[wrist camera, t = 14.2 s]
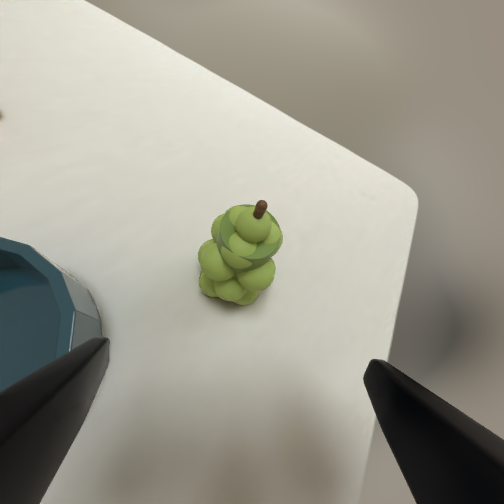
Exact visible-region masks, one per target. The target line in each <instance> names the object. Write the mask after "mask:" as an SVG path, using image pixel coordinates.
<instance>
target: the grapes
mask: <svg viewBox="0 0 504 504" xmlns="http://www.w3.org/2000/svg"><path fill="white" fill-rule="evenodd" d="M266 209H267V203H266V201H264V200H260V201H258V202H257V204H256V206H254V205H238V206H233V207H231V208H230V209H228V210H227V211H226V212H225V214H222V215H220V216H219V217H217V218H216V219H215V221H214V222H213V224H212V229H211V233H212V237H213V239H212V240H208V241H206V242H205V243H204V244H203V245H202V246H201V247H200V249H199V252H198V260H199V263H200V265H201V269H202V271H203V272H202V273H201V275H200V278H199V285H200V288H201V290H202V291H203V292H204V293H205V294H206V295H208V296H210V297H220V298H222V299H223V300H226V301H234V302H235V303H237V304H239V305H248V304H251V303H252V302H254V301H255V300H256V298H257V297H258V294H259V291H262V290H264V289H266V288H267V287H268V286H269V285H270V284H271V283H272V281H273V278H274V274H275V264H274V261H273V260H272V258H271V257H272V256H273V255H275V254H276V252H277V251H278V250H279V248H280V247H281V244H282V240H283V236H282V232H281V229H280V228H279V225H278V223H277V221H276V219H275V218H274V217H273V216H272V215H271V214H270V213H269V212H268V211H266Z"/></svg>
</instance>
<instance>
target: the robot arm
mask: <svg viewBox="0 0 504 504" xmlns="http://www.w3.org/2000/svg"><path fill="white" fill-rule="evenodd" d="M109 346H110V342H109V339H108V338H105V337H93V338H91V339H89V340H88V341H86V342H84V343H82V344H81V345H79V346H77V347H76V348H74V349H72V350H71V351H69V352H67V353H66V354H64V355H62V356H61V357H59V358H57V359H55V360H54V361H52V362H50V363H49V364H47V365H45V366H44V367H42V368H40V369H39V370H37V371H35V372H33V373H32V374H30V375H28V376H27V377H25V378H23V379H22V380H20V381H18V382H17V383H15V384H13V385H12V386H10V387H8V388H6V389H5V390H3V391H1V392H0V504H40V502H41V500H42V498H43V496H44V494H45V493H46V491H47V489H48V487H49V485H50V483H51V482H52V480H53V478H54V476H55V474H56V472H57V471H58V469H59V467H60V465H61V463H62V461H63V460H64V458H65V456H66V454H67V452H68V450H69V449H70V447H71V445H72V443H73V441H74V439H75V438H76V436H77V434H78V432H79V430H80V428H81V426H82V424H83V422H84V421H85V418H86V416H87V414H88V412H89V409H90V407H91V405H92V402H93V400H94V398H95V395H96V393H97V390H98V388H99V386H100V383H101V381H102V379H103V376H104V374H105V372H106V369H107V367H108V364H109ZM363 380H364V384H365V387H366V390H367V392H368V395H369V398H370V400H371V403H372V405H373V408H374V411H375V413H376V416H377V419H378V421H379V424H380V426H381V429H382V431H383V433H384V435H385V438H386V439H387V442H388V444H389V446H390V448H391V450H392V452H393V454H394V456H395V458H396V461H397V463H398V465H399V467H400V469H401V471H402V474H403V476H404V478H405V480H406V482H407V484H408V486H409V488H410V490H411V493H412V495H413V497H414V499H415V501H416V503H417V504H504V440H503V439H502V438H500V437H499V436H497V435H496V434H494V433H493V432H491V431H490V430H488V429H486V428H485V427H484V426H482V425H481V424H479V423H478V422H476V421H475V420H473V419H472V418H470V417H468V416H467V415H466V414H464V413H463V412H461V411H460V410H458V409H457V408H455V407H454V406H452V405H451V404H449V403H448V402H446V401H444V400H443V399H441V398H440V397H438V396H437V395H435V394H434V393H432V392H431V391H429V390H428V389H426V388H425V387H423V386H422V385H420V384H419V383H417V382H416V381H414V380H413V379H411V378H410V377H408V376H407V375H405V374H404V373H402V372H401V371H399V370H398V369H396V368H395V367H393V366H392V365H390V364H389V363H387V362H386V361H384V360H380V359H372V360H371V361H370V362H369V365H368V367H367V369H366V371H365V374H364V377H363Z"/></svg>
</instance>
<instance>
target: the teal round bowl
mask: <svg viewBox="0 0 504 504" xmlns="http://www.w3.org/2000/svg"><path fill="white" fill-rule="evenodd" d="M93 337H101V324H100V317H99V314H98V311H97V308H96V305H95V303H94V301H93V299H92V297H91V296H90V294H89V291H88V290H87V289H86V288H85V287H84V286H83V285H81V284H80V283H79V282H78V281H77V280H75V279H74V278H73V277H72V276H70V275H69V274H68V273H67V272H66V271H64V270H63V269H62V268H60V267H59V266H58V265H56V264H55V263H53V262H52V261H51V260H49V259H48V258H47V257H45V256H44V255H42V254H41V253H40V252H38V251H37V250H35V249H34V248H33V247H31V246H29V245H27V244H23V243H20V242H16V241H13V240H9V239H5V238H2V237H0V392H1V391H3V390H5V389H6V388H8V387H10V386H12V385H13V384H15V383H17V382H18V381H20V380H22V379H23V378H25V377H27V376H28V375H30V374H32V373H33V372H35V371H37V370H39V369H40V368H42V367H44V366H45V365H47V364H49V363H50V362H52V361H54V360H55V359H57V358H59V357H61V356H62V355H64V354H66V353H67V352H69V351H71V350H72V349H74V348H76V347H77V346H79V345H81V344H82V343H84V342H86V341H88V340H89V339H91V338H93Z"/></svg>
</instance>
